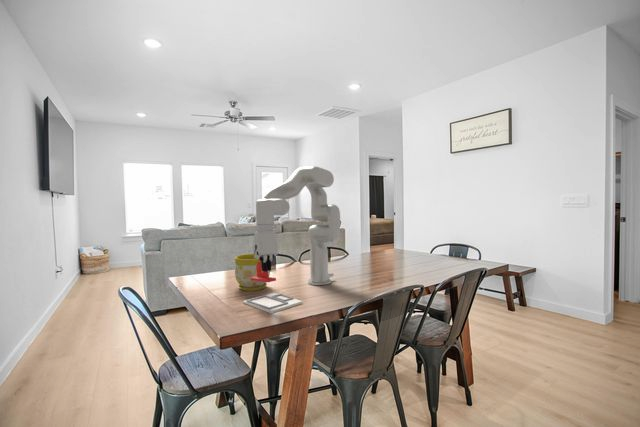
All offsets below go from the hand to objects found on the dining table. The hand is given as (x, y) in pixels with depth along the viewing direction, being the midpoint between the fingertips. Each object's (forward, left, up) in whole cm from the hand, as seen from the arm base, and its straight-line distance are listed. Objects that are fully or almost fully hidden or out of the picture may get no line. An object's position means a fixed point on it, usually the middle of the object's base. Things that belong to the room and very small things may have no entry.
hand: (266, 270), depth 144 cm
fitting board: (-3, 0, -15) cm, 15 cm away
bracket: (+2, 0, -4) cm, 5 cm away
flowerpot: (-12, -29, -15) cm, 35 cm away
